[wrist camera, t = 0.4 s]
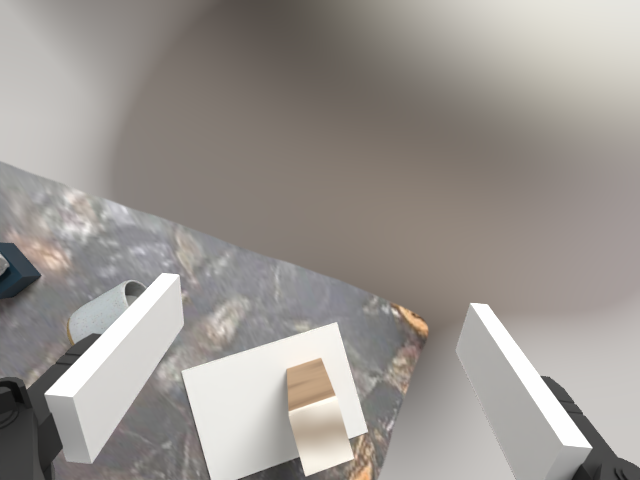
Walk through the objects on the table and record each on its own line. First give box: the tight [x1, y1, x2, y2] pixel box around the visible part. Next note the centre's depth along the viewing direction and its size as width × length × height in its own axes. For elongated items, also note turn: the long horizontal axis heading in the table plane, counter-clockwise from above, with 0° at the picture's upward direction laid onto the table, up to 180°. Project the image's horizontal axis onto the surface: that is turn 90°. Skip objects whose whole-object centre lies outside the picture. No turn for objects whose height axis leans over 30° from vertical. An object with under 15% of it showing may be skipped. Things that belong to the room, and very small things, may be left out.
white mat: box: [182, 322, 368, 480], centre depth 46 cm, size 16×22×1 cm
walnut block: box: [287, 358, 354, 477], centre depth 40 cm, size 6×5×14 cm
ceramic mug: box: [67, 280, 147, 346], centre depth 41 cm, size 11×8×8 cm
